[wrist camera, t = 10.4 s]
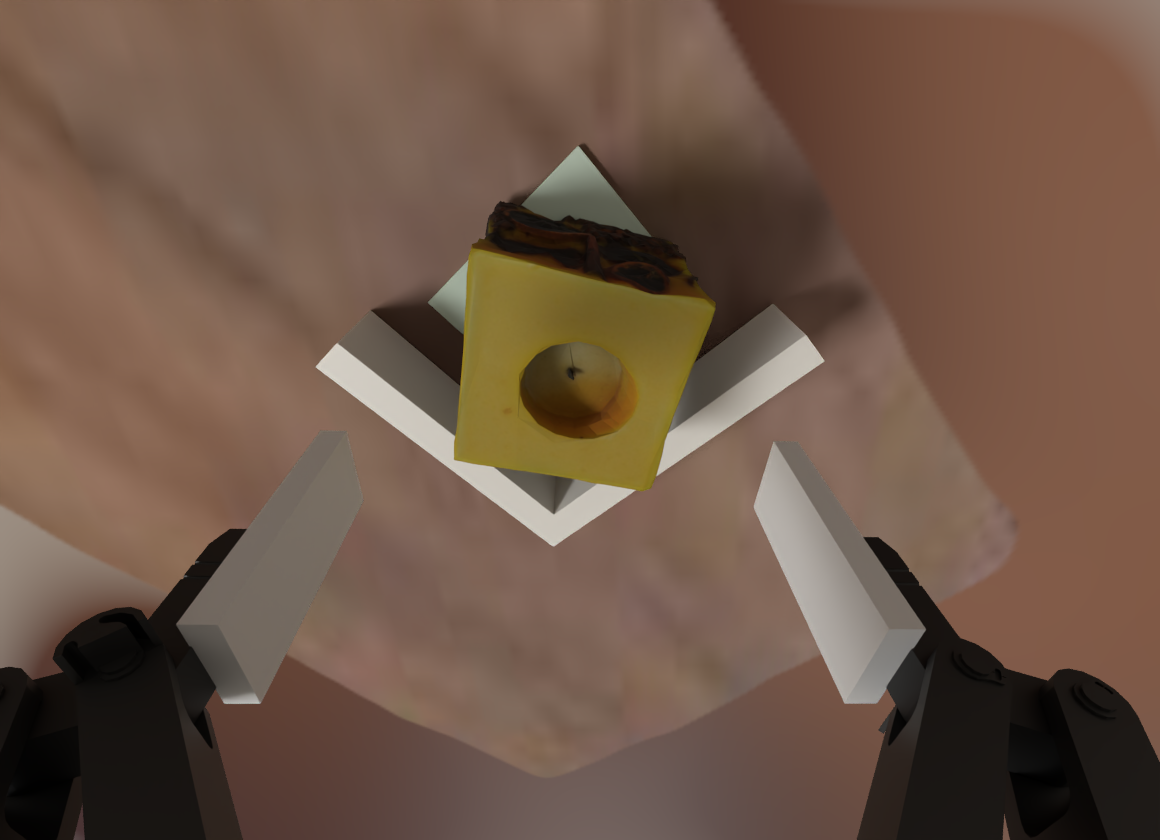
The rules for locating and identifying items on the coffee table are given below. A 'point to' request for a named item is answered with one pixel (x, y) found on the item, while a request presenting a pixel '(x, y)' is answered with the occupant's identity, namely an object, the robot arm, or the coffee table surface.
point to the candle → (575, 348)
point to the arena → (551, 503)
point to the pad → (557, 197)
